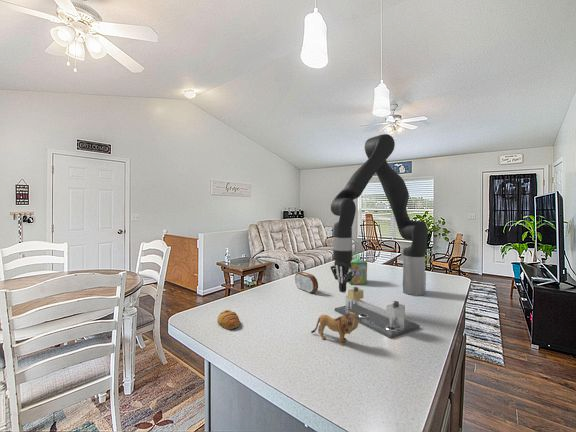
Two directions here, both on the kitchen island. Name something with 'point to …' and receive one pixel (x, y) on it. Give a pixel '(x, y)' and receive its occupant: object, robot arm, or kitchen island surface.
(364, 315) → the bolt plate
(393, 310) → the divider frame
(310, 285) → the tin
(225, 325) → the pastry
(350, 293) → the block
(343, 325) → the lion figurine
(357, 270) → the chalk box
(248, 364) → the kitchen island surface
